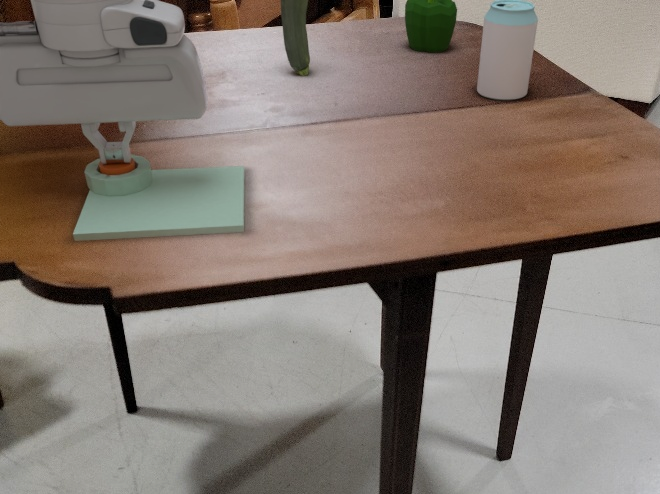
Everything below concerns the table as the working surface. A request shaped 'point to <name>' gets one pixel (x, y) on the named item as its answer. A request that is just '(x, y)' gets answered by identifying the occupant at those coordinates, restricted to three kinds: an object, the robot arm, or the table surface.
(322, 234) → the table surface
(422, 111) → the table surface
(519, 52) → the can
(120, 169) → the button
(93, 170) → the pale green flat block
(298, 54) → the vegetable
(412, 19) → the bell pepper
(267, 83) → the table surface
